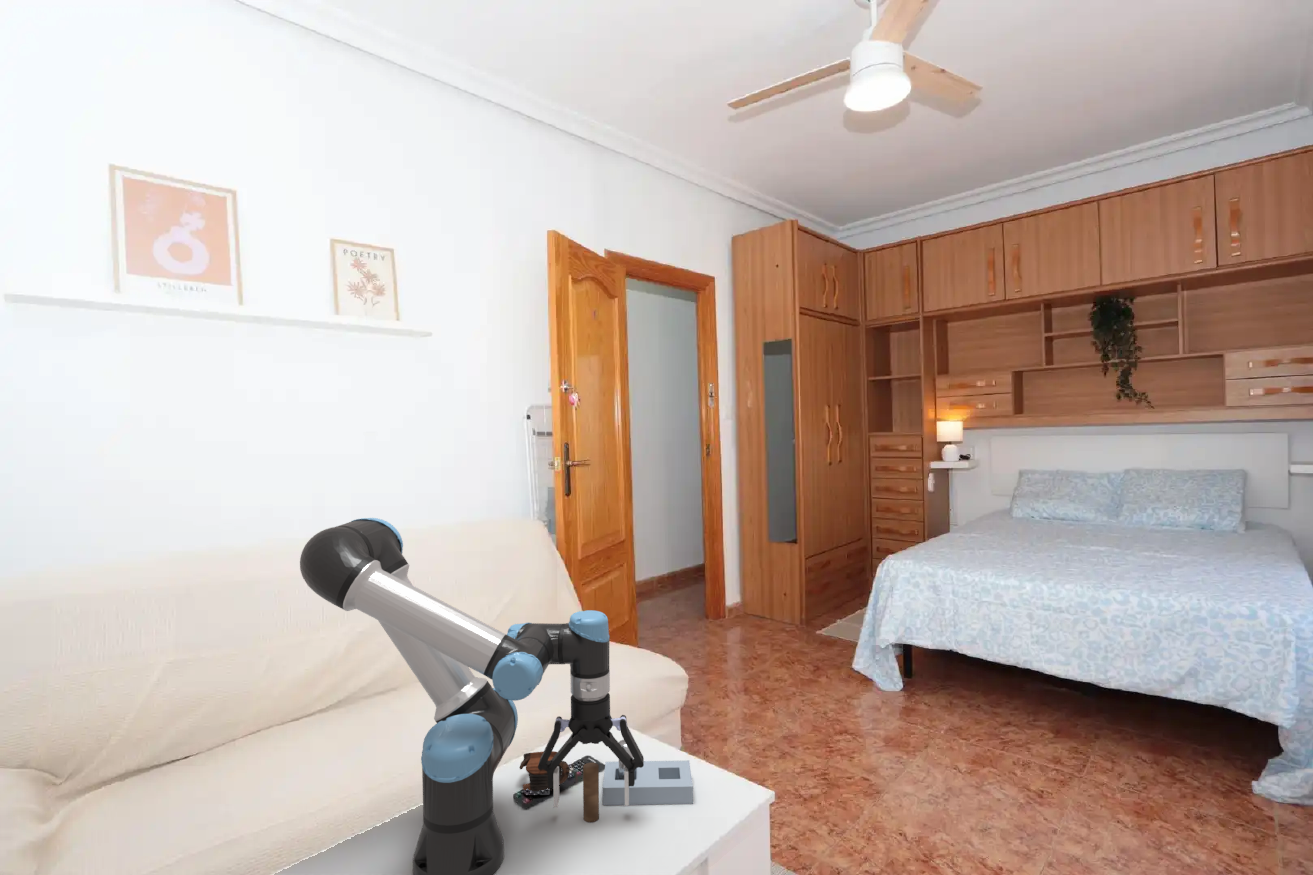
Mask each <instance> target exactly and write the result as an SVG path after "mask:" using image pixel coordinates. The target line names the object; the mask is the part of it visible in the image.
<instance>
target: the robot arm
mask: <svg viewBox="0 0 1313 875" xmlns="http://www.w3.org/2000/svg"><path fill="white" fill-rule="evenodd" d="M403 542H404V541H403V538H402V536H401V533H400V532H399V531H398V530H397V528H396V527H395V526H394V525H392V524H391V523H390V522H388V521H387V520H384V519H380V518H376V517H367V518H366V517H365V518H356V519H353V520H351V521H349V522H346V523H344V524H343V523H342V524H340V525H336V526H332V527H328V528H325V529H323V530H321V531H319V532H317V533H315V535H313V536H312V537H311V538H310V539H309V540H308V541H307V542H306V543H305V545H304V547H303V549H302V551H301V553H300V558H299V570H300V574H301V577H302V578H303V581H304V582H305V584H306V585H307V586H308V587H309V589H311V590H312V591H313V592H314V594H316V595H318V596H319V597H321V598H322V599H324V600H325V601H326V602H328V603H330V604H332V605H333V606H336V607H338V608H340V609H341V610H343V611H345V612H350V611H353V610H358V611H360V612H362V613H363V614H366V615H368V616H369V617H371V618H373V619H375V620H377V621H378V623H379V624H380V626H381V627H382V629H384V632H385V633H386V635H387V637H389V639H390V640H391V642H392V643H393V645H394V646H395V647H396V649H397V651H398V652H399V653H400V655H401V657H402V658H403V659H404V661H405V662H406V664H407V666H409V668H410V671H412V673H413V674H414V675H415V677H416V679H417V680H418V682H419V683H420V685H421V686H422V688H423V690H424V691H425V692H426V693H427V695H428V697H429V698H430V699H431V700H432V702H433V704H434V706H435V711H434V716H433V719H434V721H435V724H434V725H433V726H432V727H430V729H429V730H428V731H427V733H426V734H425V735H424V736H425V737H424V738H423V741H422V742H423V743H422V751H421V756H420V757H421V758H420V763H421V771H422V772H421V774H422V775H421V777H422V812H423V813H422V814H423V816H422V818H423V819H422V826H421V830H420V832H419V836H418V840H417V842H416V846H415V849H414V851H413V857H412V875H494V874H495V873H496V872H497V871H498V869H499V868H500V867H501V865H502V863H503V860H504V856H505V850H504V849H505V846H504V845H505V844H504V843H505V842H504V838H503V837H504V836H503V835H502V832H501V829H500V826H499V824H498V820H497V818H496V816H495V812H494V783H493V782H494V773H495V772H496V769H497V768H498V766H499V764H500V762H502V759H503V756H504V755H505V753H506V751H507V750H508V748H509V747H510V746H511V745H512V742H513V741H514V738H515V735H516V734H515V733H516V732H517V727H518V722H519V716H518V710H517V707H516V705H515V701H521V700H523V699H526V698H527V697H529V696H530V695H531V694H532V693H533V692H534V690H535V689H536V688H537V686H538V685H540V683H541V681H542V679H543V675H544V673H545V672H546V670H547V668H548V666H549V665H569V666H570V669H569V670H570V675H569V676H570V694H571V696H570V718H569V719H565V718H563V717H562V716H557V717H556V718H555V721H554V726H553V732H552V733H551V734H550V735H551V736H550V738H549V740H548V742H547V744H546V746H545V748H544V750H543V751H542V752H543V754H542V756H541V758H540V761H539V764H538V769H539V770H546V771H547V773H548V787H549V788H552V789H553V808H556V809H557V808H558V807H559V804H560V786H559V766H558V765H559V764H560V763H561V762H562V761H564V759H565V758H566V757H568V756H567V755H569V753H570V752H571V751H572V750H573V749H574V748H575V747H576V745H577V744H578V743H579V742H580V743H581V744H582V745H587V744H595V745H596V744H598V745H599V744H600V743H602V744H604V746H606V747H607V748H609V750H610V751H611V752H612V753H613V754H614V755H615V756H616V758H617V759H618V761H619V760H620V761H621V762H622V763H623V764H624V765H625V770H624V782H625V805H624V806H625V807H629V806H630V805H629V786H634V784H635V769H636V768H638V767H639V768H642V767H643V766H644V761H645V759H644V755H643V753H642V751H641V749H640V748H639V746H638V744H637V741H636V740H635V738H634V737H633V734H632V732H631V730H630V729H629V727H628V723H627V716H626V715H625V714H622V715H620V717H616V718H613V717H612V716H611V695H610V691H611V685H610V684H611V677H610V675H611V672H610V636H611V635H610V632H609V630H610V629H609V619H608V616H607V615H606V614H605V613H604V612H602V611H599V610H594V609H593V610H591V609H589V610H588V609H587V610H581V611H580V610H579V611H577V612H573V613H572V614H571V615H570V617H569V621H568V622H567V623H539V622H536V623H535V622H533V623H532V622H525V623H514V624H512V625H510V626H509V628H508V630H507V633H504V632H503V631H500V630H499V629H496V628H495V627H492V626H491V625H489V624H487V623H485V622H483V621H482V620H480V619H477V618H476V617H473V616H472V615H470V614H468V613H466V612H464V611H462V610H460V609H458V608H457V607H454V606H452V605H451V604H448V603H447V602H445V601H442V600H441V599H440V598H438V597H435V596H433V595H431V594H429V593H427V592H426V591H424V590H422V589H420V588H418V587H416V586H414V585H413V584H412V582H411V581H410V579H409V576H408V573H409V568H410V564H409V563H408V561H407V560H406V558H405V556H404V555H403V550H404V543H403ZM472 670H473V671H476V672H478V673H479V674H482V675H483V676H485V677H487V678H488V679H490V680H491V681H492V685H491V683H490V682H489V680H488V679H487V678H484V677H476V676H475V675H474V673H473V671H472ZM492 686H493V687H492ZM613 727H615V728H616V730H617V731H619V732H620V735H621V736H622V738H623V739H622V740H624V741H625V743H626V744H627V746H628V748H629V750H630V752H631V754H632V756H633V758H632V757H631V756H630V755H629V754H628V753H627V752H626V750H625V749H624V748H623V747H622V746H621V745H620V744H619V741H618V740H617V739H616V738H615V737H614V735H613V733H612V732H611V729H612V728H613ZM567 728H568V729H569V730H570V731H571V734H570V736H569V737H568V739H567V740H566V741H565V742H564V743H563V745H562V746H561V748H559V749H558V751H556V752H557V753H556V755H555V756H554V757H553V758H552V760H550V761H548V759H549V756H550V754H551V752H552V751H553V750H554V748H555V746H556V744H557V742H558V740H559V737H560V734H561V733H563V732H565V730H566V729H567Z"/></svg>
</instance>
